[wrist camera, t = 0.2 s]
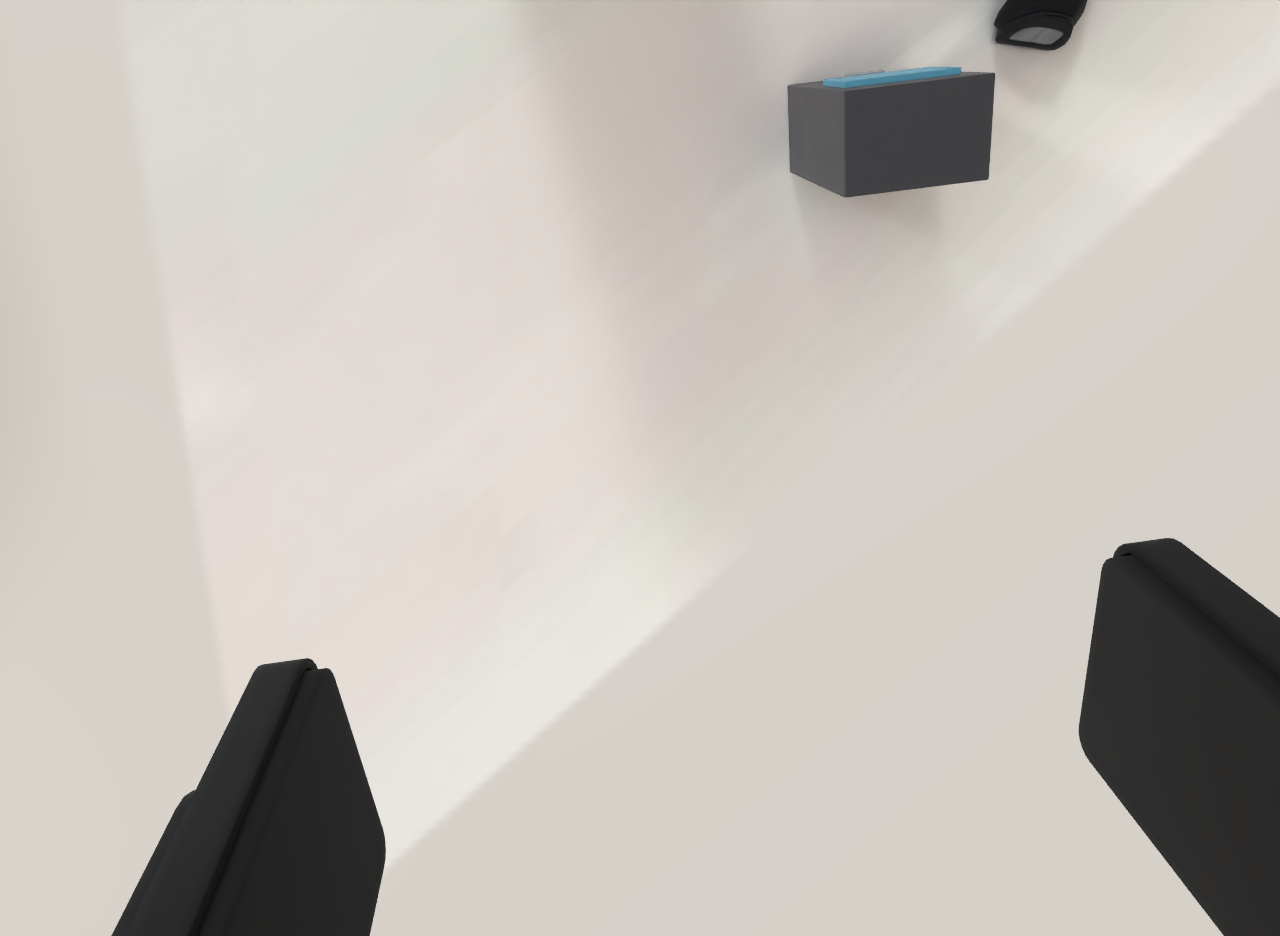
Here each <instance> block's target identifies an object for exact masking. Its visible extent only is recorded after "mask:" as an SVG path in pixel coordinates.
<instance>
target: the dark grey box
mask: <svg viewBox="0 0 1280 936" xmlns="http://www.w3.org/2000/svg"><path fill="white" fill-rule="evenodd" d="M994 84H995V73H980V72H961V67H925V68H917V69H908V70H900V71H892V72H885V71H873V72H864V73H856V74H848V75H845V77H842V78H834V79H825V80H823V81H820V82H811V83H803V84H795V85H788V114H789V147H790V172H791V173H794V174H796V175H798V176H800V177H802V178H804V179H806V180H809V181H811V182H813V183H815V184H817V185H819V186H822V187H824V188H826V189H828V190H830V191H832V192H835V193H837V194H839V195H841V196H843V197H854V196H862V195H869V194H877V193H885V192H893V191H901V190H909V189H917V188H925V187H933V186H941V185H949V184H957V183H965V182H973V181H981V180H987V179H988V178H989V163H990V147H991V131H992V116H993V100H994Z"/></svg>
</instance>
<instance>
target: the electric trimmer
mask: <svg viewBox="0 0 1280 936" xmlns="http://www.w3.org/2000/svg"><path fill="white" fill-rule="evenodd" d="M1086 2H1087V0H1007V1H1006V3H1005V4H1004V6H1003V7H1002V8H1001V10H1000V11H999V13H998V15H997V18H996V20H995V23H994V26H995V27H996V28H997V29H999V30H998V33H997V37H996V42H997V43H999V44H1003V45H1005V44H1006V45H1008V46H1009V45H1012V46H1017V47H1019V46H1020V47H1024V48H1025V47H1026V48H1028V49H1029V48H1032V49H1037V50H1038V49H1040V50H1055V49H1057V48H1060V47H1061V46H1063V45H1064V44H1065V43H1066V42H1067V41H1068V40H1069V38H1070V36H1071V33H1072V30H1073V26H1074V25H1075V24H1076V23H1077V21H1078V20H1079V18H1080V17H1081V15H1082V14H1083V12H1084V9H1085V6H1086Z"/></svg>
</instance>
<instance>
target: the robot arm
mask: <svg viewBox="0 0 1280 936" xmlns="http://www.w3.org/2000/svg"><path fill="white" fill-rule="evenodd" d="M1079 736H1080V741H1081V745H1082V748H1083V750H1084V753H1085V755H1086V756H1087V758H1088V760H1089V761H1090V762H1091V764H1092V765H1093V766H1094V768H1095V769H1096V770H1097V772H1098V773H1099V774H1100V775H1101V776H1102V778H1103V779H1104V780H1105V782H1106V783H1107V785H1108V786H1109V787H1110V788H1111V790H1112V791H1113V792H1114V793H1115V795H1116V796H1117V797H1118V799H1119V800H1120V801H1121V803H1122V804H1123V805H1124V807H1125V808H1126V809H1127V810H1128V812H1129V813H1130V814H1131V816H1132V817H1133V818H1134V820H1135V821H1136V822H1137V823H1138V825H1139V826H1140V827H1141V828H1142V830H1143V831H1144V833H1145V834H1146V835H1147V836H1148V838H1149V839H1150V840H1151V842H1152V843H1153V844H1154V846H1155V847H1156V848H1157V849H1158V851H1159V852H1160V853H1161V855H1162V856H1163V857H1164V858H1165V860H1166V861H1167V862H1168V864H1169V865H1170V866H1171V867H1172V869H1173V870H1174V871H1175V873H1176V874H1177V875H1178V877H1179V878H1180V879H1181V881H1182V882H1183V883H1184V884H1185V886H1186V887H1187V888H1188V890H1189V891H1190V892H1191V893H1192V895H1193V896H1194V897H1195V898H1196V900H1197V901H1198V903H1199V904H1200V905H1201V907H1202V908H1203V909H1204V910H1205V912H1206V913H1207V914H1208V916H1209V917H1210V918H1211V919H1212V921H1213V922H1214V923H1215V925H1216V926H1217V927H1218V928H1219V930H1220V931H1221V932H1222V934H1223V935H1224V936H1280V618H1279V617H1278V616H1277V615H1275V614H1274V613H1273V612H1271V611H1270V610H1269V609H1267V608H1266V607H1265V606H1264V605H1262V604H1261V603H1260V602H1258V601H1257V600H1256V599H1254V598H1253V597H1252V596H1250V595H1249V594H1248V593H1246V592H1245V591H1244V590H1243V589H1241V588H1240V587H1238V586H1237V585H1236V584H1235V583H1233V582H1232V581H1231V580H1229V579H1228V578H1227V577H1225V576H1224V575H1223V574H1222V573H1220V572H1219V571H1218V570H1216V569H1215V568H1214V567H1212V566H1211V565H1210V564H1208V563H1207V562H1206V561H1204V560H1203V559H1202V558H1201V557H1199V556H1198V555H1197V554H1195V553H1194V552H1193V551H1191V550H1190V549H1189V548H1187V547H1186V546H1185V545H1183V544H1182V543H1181V542H1179V541H1177V540H1175V539H1171V538H1164V539H1158V540H1150V541H1143V542H1136V543H1129V544H1123V545H1121V546H1119V547H1118V548H1117V550H1116V551H1115V553H1114V556H1113V558H1110V559H1107V560H1106V561H1105V563H1104V564H1103V567H1102V571H1101V578H1100V585H1099V591H1098V598H1097V605H1096V612H1095V619H1094V626H1093V633H1092V640H1091V647H1090V654H1089V661H1088V667H1087V674H1086V681H1085V688H1084V696H1083V702H1082V709H1081V716H1080V723H1079ZM385 853H386V848H385V836H384V832H383V828H382V825H381V822H380V819H379V815H378V812H377V809H376V806H375V803H374V800H373V797H372V793H371V790H370V787H369V784H368V781H367V778H366V775H365V771H364V768H363V765H362V762H361V759H360V756H359V753H358V750H357V746H356V743H355V740H354V737H353V734H352V731H351V728H350V724H349V721H348V718H347V715H346V712H345V709H344V706H343V702H342V699H341V696H340V693H339V690H338V687H337V684H336V681H335V678H334V675H333V673H332V672H331V670H330V669H328V668H325V669H318V668H317V666H316V664H315V663H314V662H313V660H311V659H308V658H306V659H299V660H292V661H285V662H278V663H271V664H264V665H261V666H258V667H257V668H256V670H255V671H254V673H253V675H252V677H251V679H250V681H249V683H248V685H247V687H246V689H245V691H244V693H243V695H242V697H241V699H240V701H239V703H238V705H237V707H236V709H235V711H234V713H233V715H232V717H231V720H230V722H229V724H228V726H227V728H226V730H225V732H224V734H223V736H222V738H221V740H220V742H219V744H218V746H217V748H216V750H215V752H214V754H213V756H212V758H211V760H210V762H209V764H208V766H207V768H206V771H205V772H204V774H203V776H202V778H201V781H200V782H199V785H198V787H197V789H196V790H194V791H192V792H190V793H189V794H187V795H186V796H185V797H184V798H183V799H182V801H181V802H180V803H179V805H178V806H177V808H176V810H175V811H174V813H173V816H172V817H171V820H170V822H169V823H168V825H167V827H166V829H165V831H164V833H163V835H162V837H161V839H160V841H159V843H158V845H157V847H156V849H155V851H154V853H153V855H152V857H151V859H150V861H149V863H148V865H147V867H146V869H145V871H144V873H143V875H142V877H141V879H140V881H139V883H138V885H137V886H136V888H135V891H134V892H133V894H132V897H131V898H130V901H129V903H128V904H127V907H126V909H125V910H124V912H123V915H122V916H121V918H120V920H119V922H118V924H117V926H116V928H115V930H114V932H113V934H112V936H370V931H371V926H372V922H373V917H374V912H375V907H376V903H377V898H378V893H379V888H380V884H381V879H382V874H383V869H384V864H385Z"/></svg>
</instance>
